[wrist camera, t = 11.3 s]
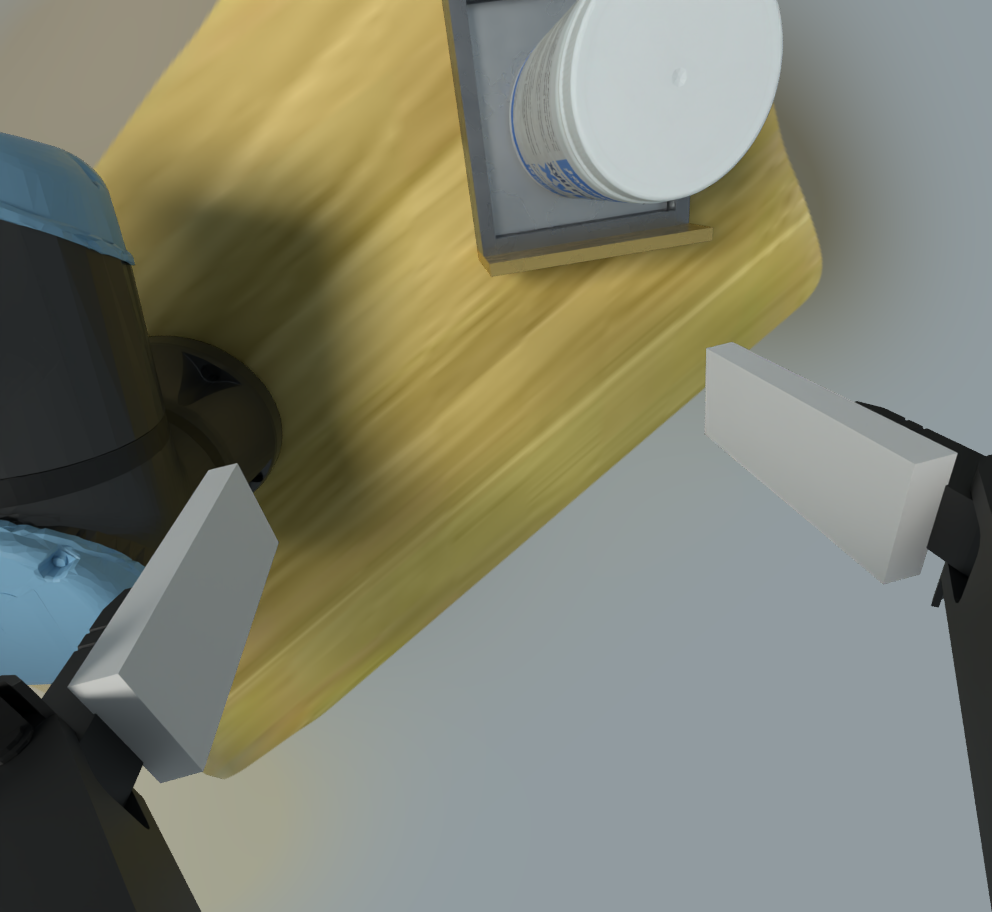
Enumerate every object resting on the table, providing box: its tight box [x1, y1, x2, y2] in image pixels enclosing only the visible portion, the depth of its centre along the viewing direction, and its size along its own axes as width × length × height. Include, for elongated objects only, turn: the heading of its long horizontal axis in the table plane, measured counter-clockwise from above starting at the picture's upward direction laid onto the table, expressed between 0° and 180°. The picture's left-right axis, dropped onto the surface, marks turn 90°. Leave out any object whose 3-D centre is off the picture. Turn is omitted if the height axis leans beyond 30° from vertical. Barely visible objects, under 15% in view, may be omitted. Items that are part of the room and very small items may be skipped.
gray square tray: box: [442, 0, 713, 277], centre depth 33 cm, size 15×16×8 cm
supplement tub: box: [509, 0, 783, 204], centre depth 27 cm, size 10×10×15 cm
